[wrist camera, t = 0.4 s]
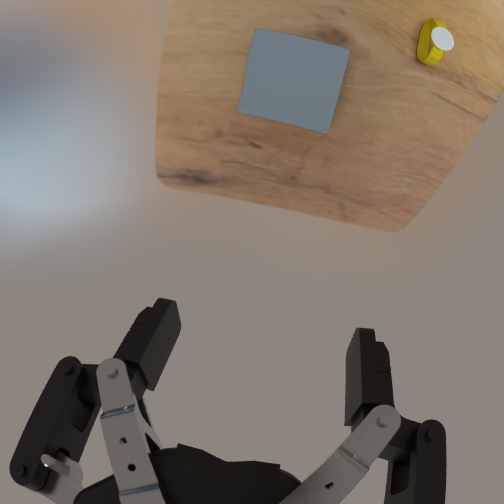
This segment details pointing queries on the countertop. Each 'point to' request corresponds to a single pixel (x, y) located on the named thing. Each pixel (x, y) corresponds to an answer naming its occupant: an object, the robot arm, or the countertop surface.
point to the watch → (434, 41)
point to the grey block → (293, 80)
